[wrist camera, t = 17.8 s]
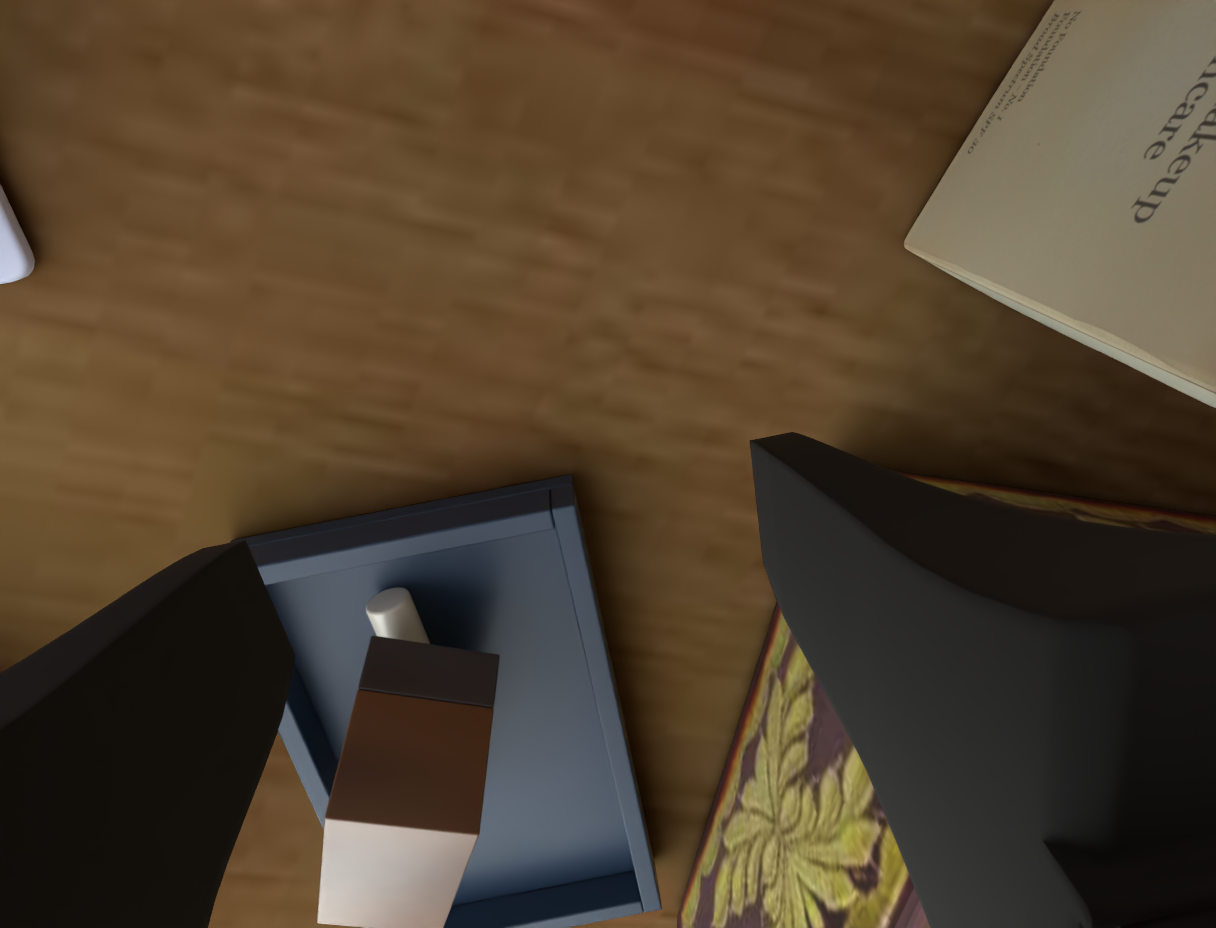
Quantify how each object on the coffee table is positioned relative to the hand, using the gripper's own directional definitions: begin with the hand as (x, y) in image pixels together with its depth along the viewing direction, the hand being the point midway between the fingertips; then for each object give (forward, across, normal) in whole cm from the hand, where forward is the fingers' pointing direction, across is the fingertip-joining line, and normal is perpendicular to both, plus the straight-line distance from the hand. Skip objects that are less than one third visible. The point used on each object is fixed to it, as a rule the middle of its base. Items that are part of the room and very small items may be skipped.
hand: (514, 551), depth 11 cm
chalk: (+9, +4, +7) cm, 12 cm away
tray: (+9, +4, +11) cm, 15 cm away
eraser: (+8, +5, +9) cm, 13 cm away
